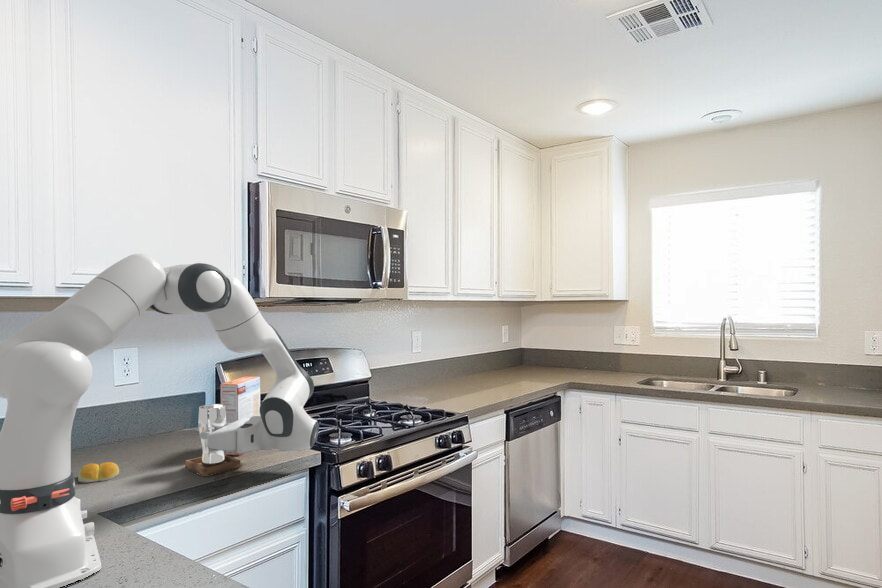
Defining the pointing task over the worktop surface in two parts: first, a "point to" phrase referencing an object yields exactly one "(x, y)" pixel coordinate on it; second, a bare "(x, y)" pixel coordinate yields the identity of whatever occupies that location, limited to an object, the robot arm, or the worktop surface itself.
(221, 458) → the beer glass
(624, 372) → the worktop surface
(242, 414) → the cracker box
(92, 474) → the bread roll
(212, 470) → the tray
